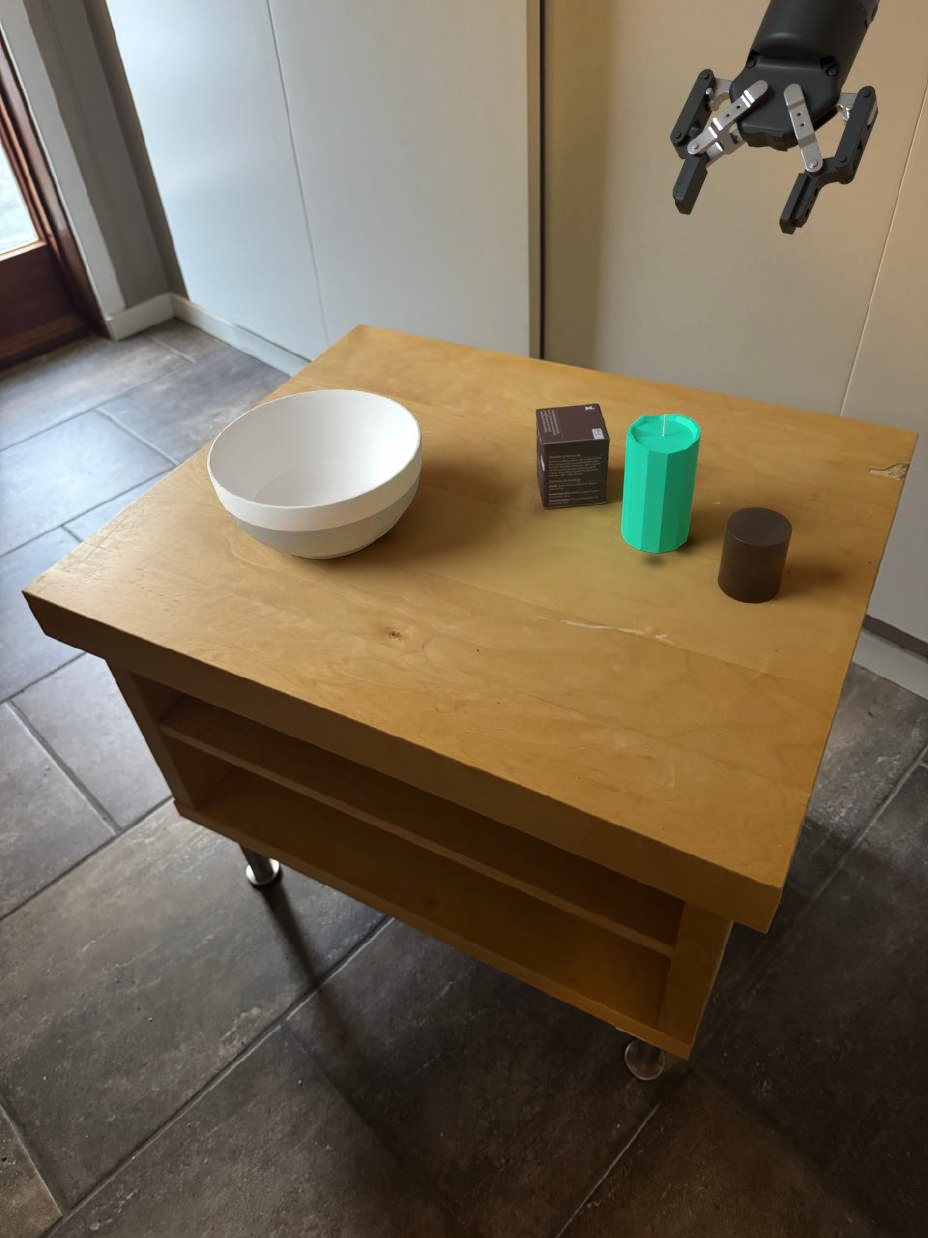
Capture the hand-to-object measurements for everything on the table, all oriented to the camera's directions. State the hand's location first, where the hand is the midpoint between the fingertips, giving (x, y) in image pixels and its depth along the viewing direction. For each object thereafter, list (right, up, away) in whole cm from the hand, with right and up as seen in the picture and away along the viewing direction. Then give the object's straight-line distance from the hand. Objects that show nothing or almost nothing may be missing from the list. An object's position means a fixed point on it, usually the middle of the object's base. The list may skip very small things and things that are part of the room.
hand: (732, 219), depth 71 cm
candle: (-3, -23, +12) cm, 26 cm away
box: (-10, -18, +18) cm, 28 cm away
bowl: (-33, -22, +17) cm, 43 cm away
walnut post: (+3, -28, +7) cm, 28 cm away
